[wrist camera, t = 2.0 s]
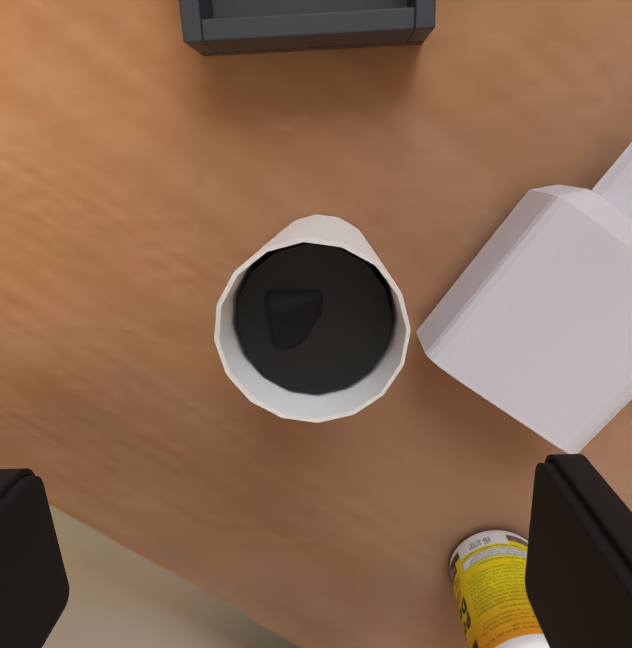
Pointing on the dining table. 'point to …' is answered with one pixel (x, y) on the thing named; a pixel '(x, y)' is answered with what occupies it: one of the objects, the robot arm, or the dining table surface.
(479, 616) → the supplement bottle
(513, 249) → the charger
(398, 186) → the dining table surface
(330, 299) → the coffee cup
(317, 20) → the grey divided tray
